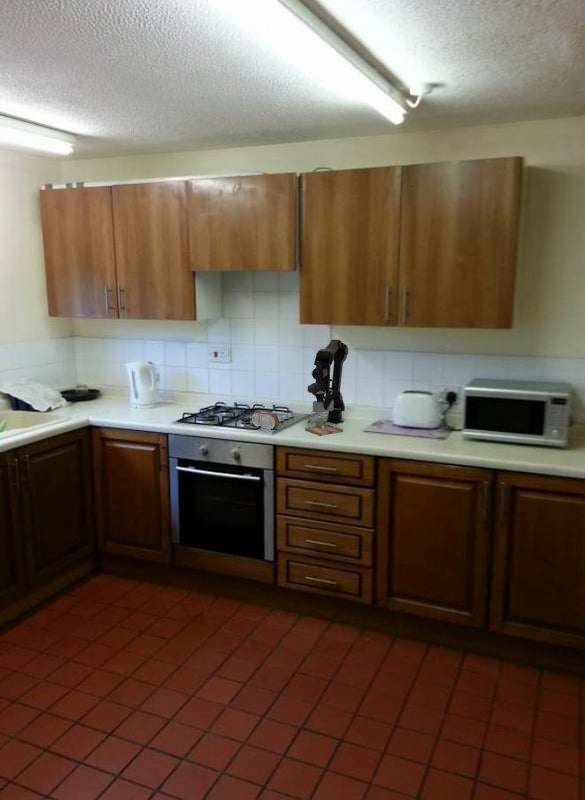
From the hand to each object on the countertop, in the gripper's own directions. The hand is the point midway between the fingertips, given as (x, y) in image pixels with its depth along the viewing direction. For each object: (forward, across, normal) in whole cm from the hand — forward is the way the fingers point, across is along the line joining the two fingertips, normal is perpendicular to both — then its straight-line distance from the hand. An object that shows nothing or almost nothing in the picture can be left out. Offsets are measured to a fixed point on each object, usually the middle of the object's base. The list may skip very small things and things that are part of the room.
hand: (323, 408), depth 308 cm
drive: (+1, 0, 0) cm, 1 cm away
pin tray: (+11, 0, 0) cm, 11 cm away
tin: (+11, -19, -21) cm, 31 cm away
